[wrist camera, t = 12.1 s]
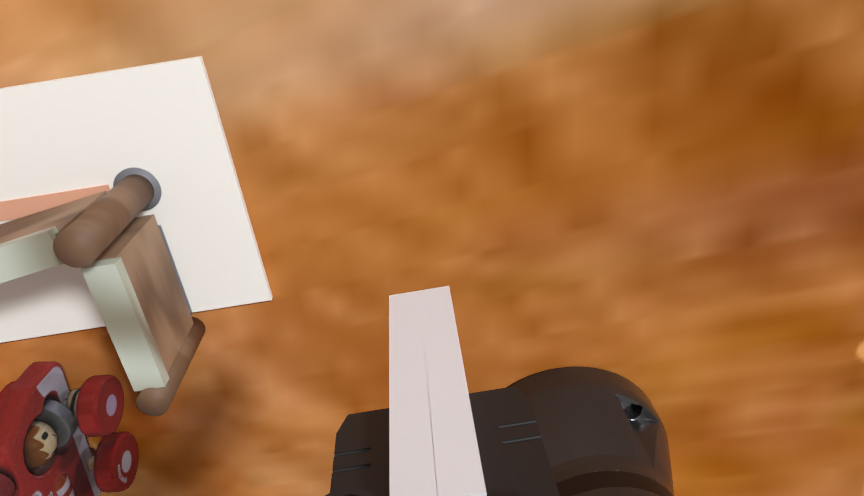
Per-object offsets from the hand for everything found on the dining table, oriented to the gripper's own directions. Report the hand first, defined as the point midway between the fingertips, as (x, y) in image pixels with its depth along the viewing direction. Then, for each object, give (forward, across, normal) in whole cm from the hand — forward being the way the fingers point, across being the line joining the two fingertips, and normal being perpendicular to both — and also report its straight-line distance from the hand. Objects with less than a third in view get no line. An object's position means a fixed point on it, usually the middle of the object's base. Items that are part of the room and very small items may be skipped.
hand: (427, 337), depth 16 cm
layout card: (+24, +20, +3) cm, 32 cm away
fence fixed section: (+24, +17, +7) cm, 31 cm away
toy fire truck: (+25, +27, +18) cm, 41 cm away
